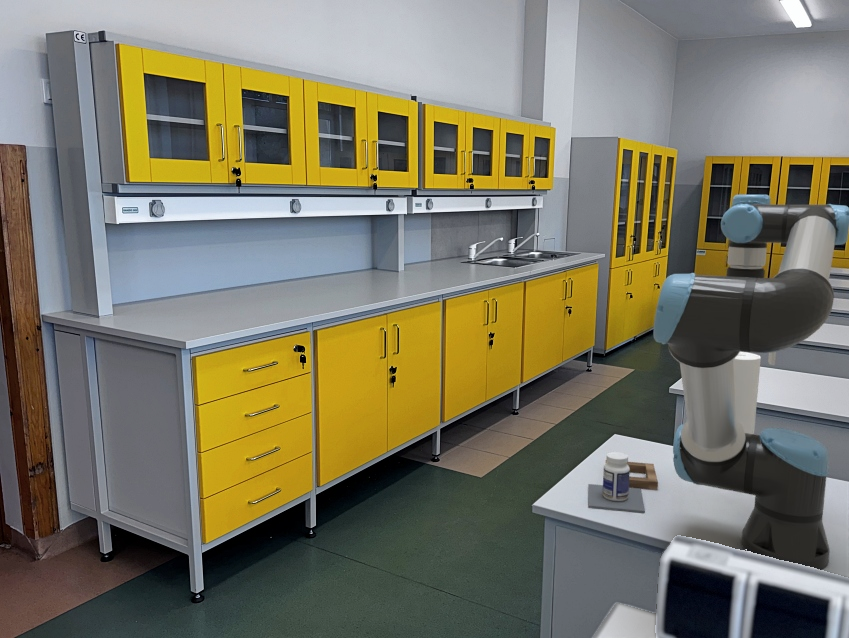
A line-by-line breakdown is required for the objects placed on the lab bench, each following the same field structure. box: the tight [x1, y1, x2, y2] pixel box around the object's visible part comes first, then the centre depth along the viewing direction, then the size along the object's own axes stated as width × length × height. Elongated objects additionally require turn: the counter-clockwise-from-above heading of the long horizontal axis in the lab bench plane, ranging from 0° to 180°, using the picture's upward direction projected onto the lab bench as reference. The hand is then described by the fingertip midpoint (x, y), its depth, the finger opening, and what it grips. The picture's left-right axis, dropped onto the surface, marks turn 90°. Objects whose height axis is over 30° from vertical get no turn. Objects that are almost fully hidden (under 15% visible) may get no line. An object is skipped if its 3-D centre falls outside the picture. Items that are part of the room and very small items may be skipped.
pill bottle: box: [602, 451, 631, 501], centre depth 157 cm, size 6×6×10 cm
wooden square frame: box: [605, 459, 659, 491], centre depth 169 cm, size 12×12×2 cm
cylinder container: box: [733, 351, 762, 435], centre depth 173 cm, size 9×9×30 cm
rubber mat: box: [587, 483, 646, 514], centre depth 158 cm, size 12×12×1 cm
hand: (738, 362), depth 154 cm, fingers open, 13 cm apart
